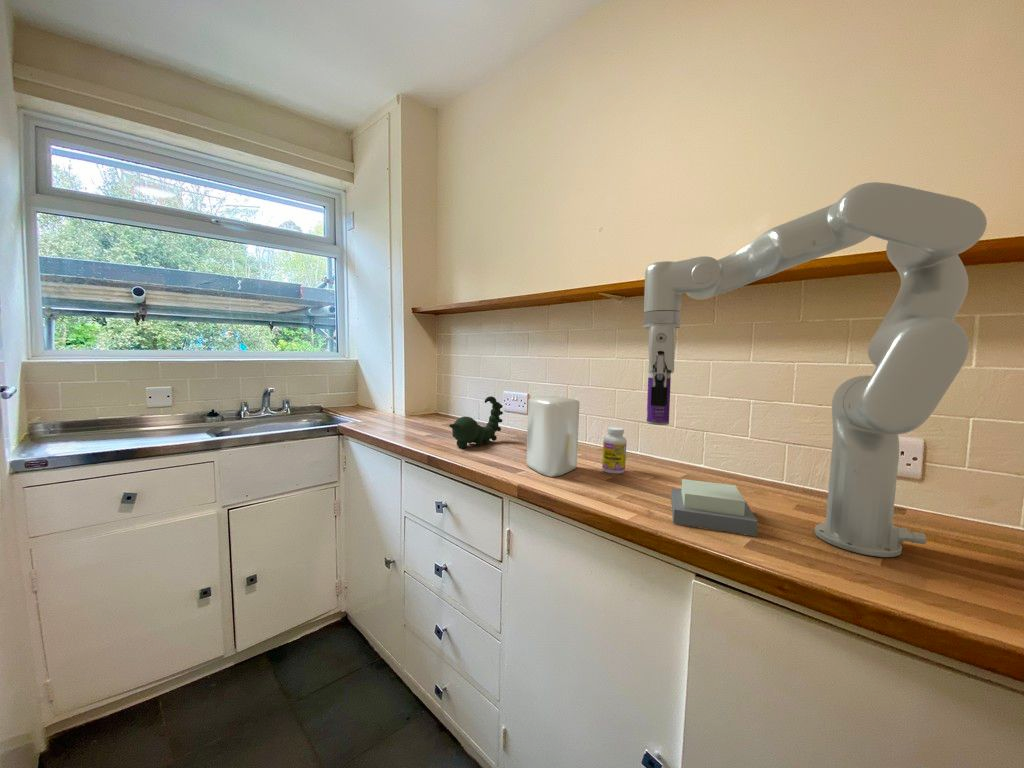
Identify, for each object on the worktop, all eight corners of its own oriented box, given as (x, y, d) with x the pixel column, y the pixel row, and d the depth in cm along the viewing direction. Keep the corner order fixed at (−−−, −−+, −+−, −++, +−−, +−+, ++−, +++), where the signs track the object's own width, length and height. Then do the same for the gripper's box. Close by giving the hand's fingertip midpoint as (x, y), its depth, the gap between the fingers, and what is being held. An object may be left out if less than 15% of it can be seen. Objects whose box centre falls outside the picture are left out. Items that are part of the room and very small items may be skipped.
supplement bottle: (599, 471, 121) (601, 428, 120) (605, 466, 127) (607, 425, 126) (622, 475, 118) (624, 431, 117) (627, 470, 124) (629, 428, 123)
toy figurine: (487, 443, 163) (438, 446, 144) (492, 395, 163) (443, 393, 144) (505, 447, 157) (456, 451, 138) (509, 397, 157) (461, 395, 138)
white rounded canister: (576, 466, 127) (579, 395, 125) (578, 479, 113) (582, 400, 111) (526, 463, 128) (529, 393, 127) (523, 476, 114) (526, 397, 112)
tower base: (741, 509, 93) (743, 484, 93) (756, 536, 79) (758, 506, 79) (671, 500, 98) (672, 475, 98) (673, 523, 84) (675, 495, 84)
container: (654, 425, 88) (657, 355, 87) (642, 422, 92) (644, 355, 91) (673, 424, 89) (676, 355, 88) (660, 421, 94) (662, 355, 93)
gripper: (682, 316, 80) (678, 409, 81) (678, 324, 96) (675, 401, 97) (642, 317, 83) (639, 407, 84) (644, 324, 99) (642, 400, 100)
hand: (658, 403), depth 90 cm, fingers closed on container, 4 cm apart
